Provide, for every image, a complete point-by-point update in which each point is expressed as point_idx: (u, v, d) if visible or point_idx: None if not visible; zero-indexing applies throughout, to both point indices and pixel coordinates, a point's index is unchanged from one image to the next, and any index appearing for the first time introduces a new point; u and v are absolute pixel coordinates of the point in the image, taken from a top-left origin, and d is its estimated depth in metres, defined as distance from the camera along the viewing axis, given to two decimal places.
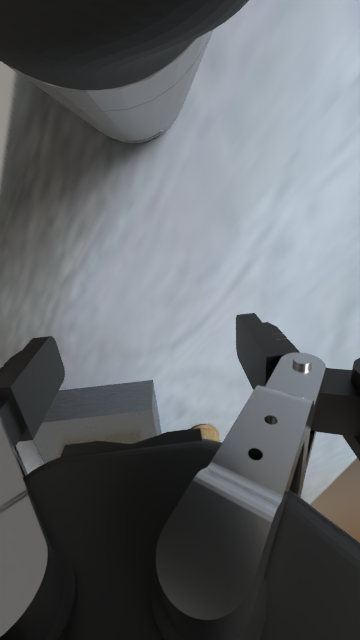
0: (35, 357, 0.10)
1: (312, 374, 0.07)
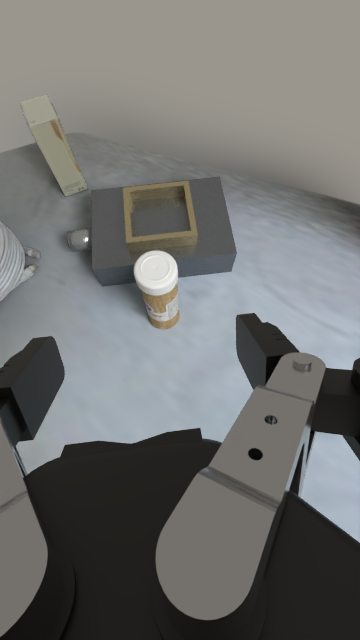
0: (35, 357, 0.10)
1: (312, 374, 0.07)
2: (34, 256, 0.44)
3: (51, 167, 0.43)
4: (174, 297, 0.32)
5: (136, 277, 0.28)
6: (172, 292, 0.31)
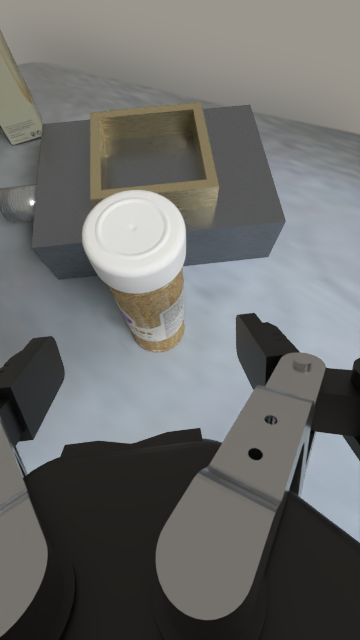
0: (35, 357, 0.10)
1: (312, 374, 0.07)
2: None
3: None
4: (177, 298, 0.16)
5: (86, 249, 0.12)
6: (173, 287, 0.14)
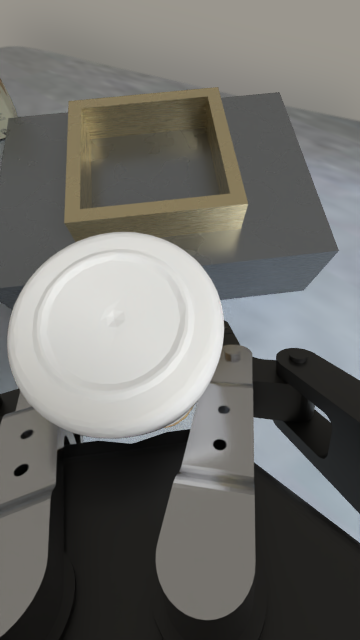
0: None
1: (237, 363, 0.08)
2: None
3: None
4: None
5: (13, 369, 0.05)
6: None
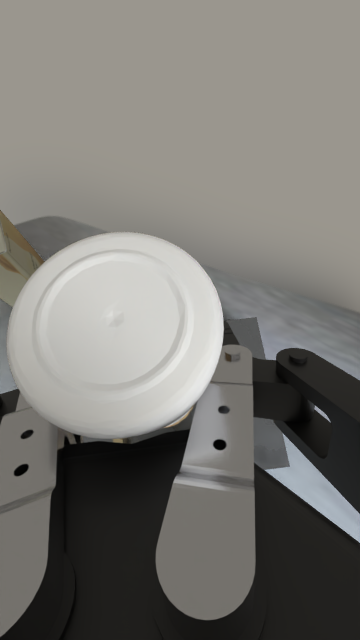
0: None
1: (237, 363, 0.08)
2: None
3: (5, 300, 0.29)
4: None
5: (12, 369, 0.05)
6: None
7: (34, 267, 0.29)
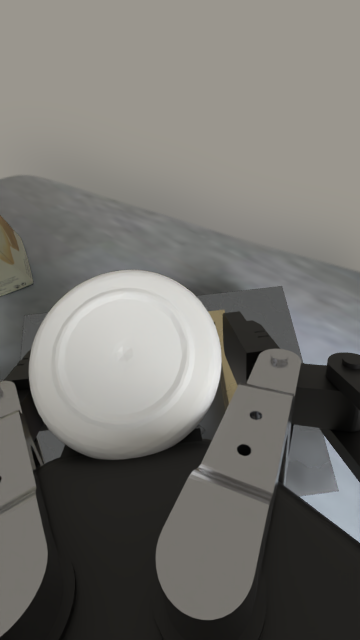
0: None
1: (287, 369, 0.08)
2: None
3: None
4: None
5: (35, 399, 0.06)
6: None
7: None
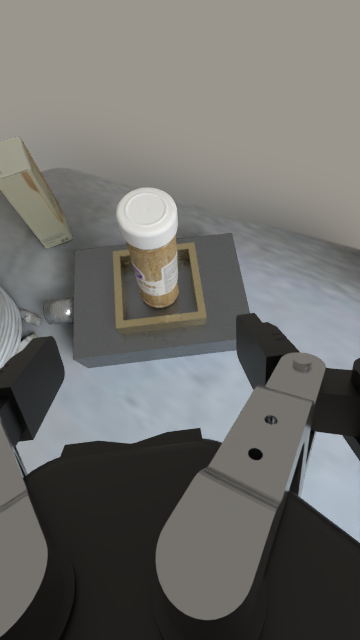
0: (35, 357, 0.10)
1: (312, 374, 0.07)
2: (33, 323, 0.36)
3: (26, 221, 0.36)
4: (172, 258, 0.24)
5: (119, 221, 0.20)
6: (170, 248, 0.23)
7: (49, 194, 0.36)
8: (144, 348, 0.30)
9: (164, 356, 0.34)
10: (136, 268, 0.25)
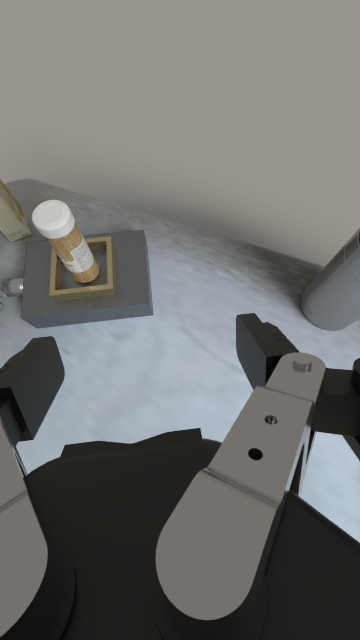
0: (35, 357, 0.10)
1: (312, 374, 0.07)
2: (1, 295, 0.49)
3: None
4: (78, 245, 0.37)
5: (33, 221, 0.33)
6: (71, 238, 0.35)
7: (10, 201, 0.49)
8: (70, 310, 0.43)
9: (91, 319, 0.47)
10: None
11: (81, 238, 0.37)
